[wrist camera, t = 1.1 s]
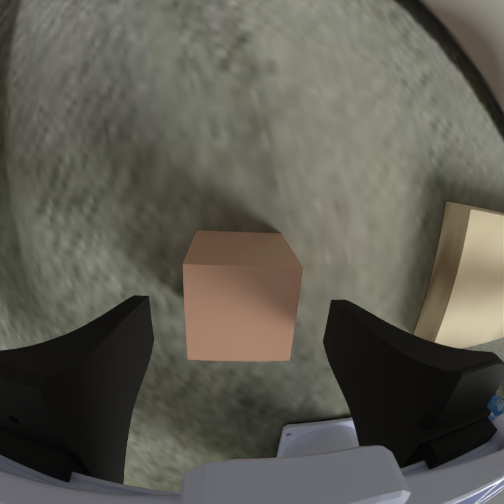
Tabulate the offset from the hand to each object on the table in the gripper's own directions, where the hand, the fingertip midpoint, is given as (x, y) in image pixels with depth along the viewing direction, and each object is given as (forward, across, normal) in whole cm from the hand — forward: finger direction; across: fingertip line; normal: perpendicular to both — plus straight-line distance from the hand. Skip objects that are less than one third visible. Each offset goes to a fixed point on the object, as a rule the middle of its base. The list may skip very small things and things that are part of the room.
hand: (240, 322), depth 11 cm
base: (+5, -18, 0) cm, 19 cm away
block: (+5, 0, 0) cm, 5 cm away
